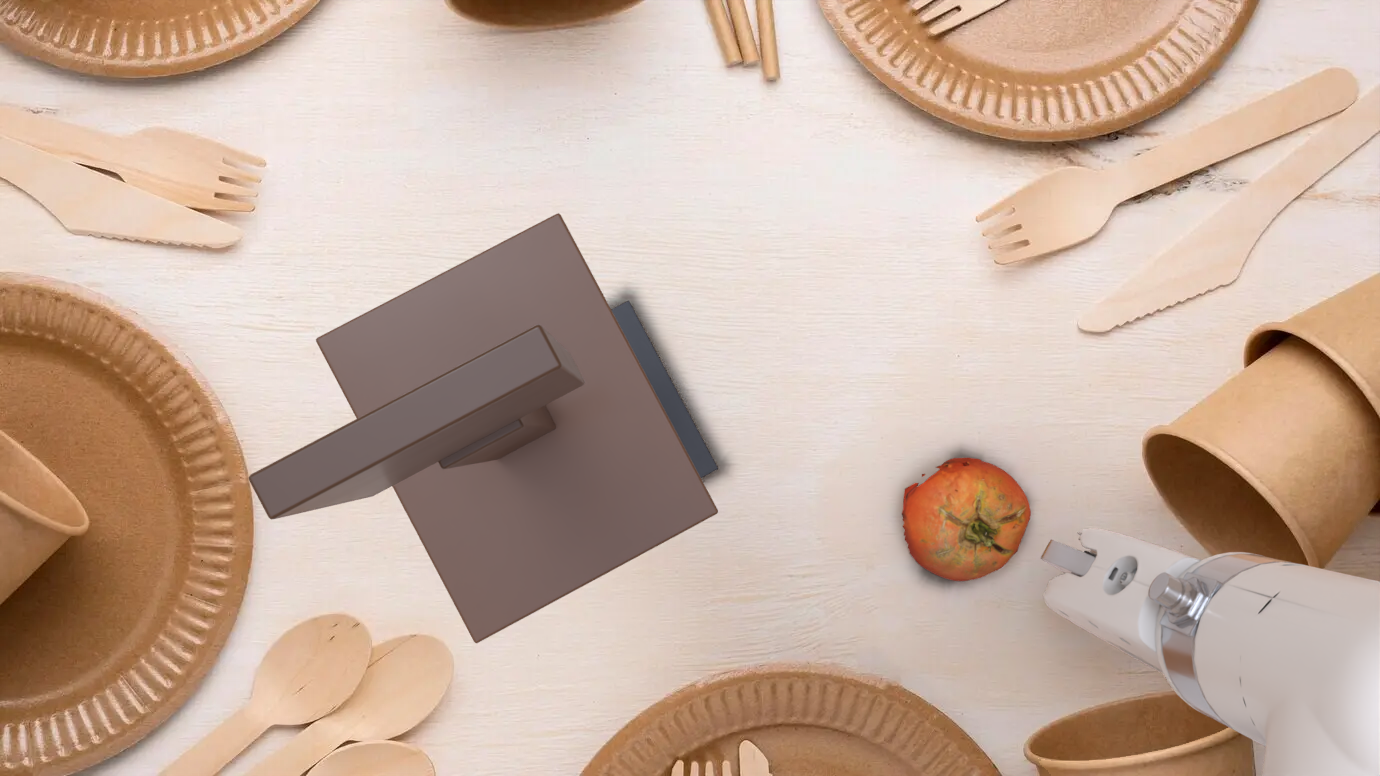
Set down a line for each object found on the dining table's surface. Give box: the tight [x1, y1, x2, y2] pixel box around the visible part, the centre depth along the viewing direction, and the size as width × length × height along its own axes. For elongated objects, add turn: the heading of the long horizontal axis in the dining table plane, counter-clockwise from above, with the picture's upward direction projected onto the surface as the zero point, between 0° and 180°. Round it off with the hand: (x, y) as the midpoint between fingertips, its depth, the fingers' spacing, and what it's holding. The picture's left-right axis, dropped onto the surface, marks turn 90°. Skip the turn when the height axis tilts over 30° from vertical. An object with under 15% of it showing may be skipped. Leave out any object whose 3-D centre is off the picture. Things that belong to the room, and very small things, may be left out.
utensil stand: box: [248, 212, 719, 644], centre depth 42 cm, size 12×12×50 cm
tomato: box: [901, 457, 1032, 582], centre depth 66 cm, size 8×7×7 cm
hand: (1082, 579), depth 64 cm, fingers closed
